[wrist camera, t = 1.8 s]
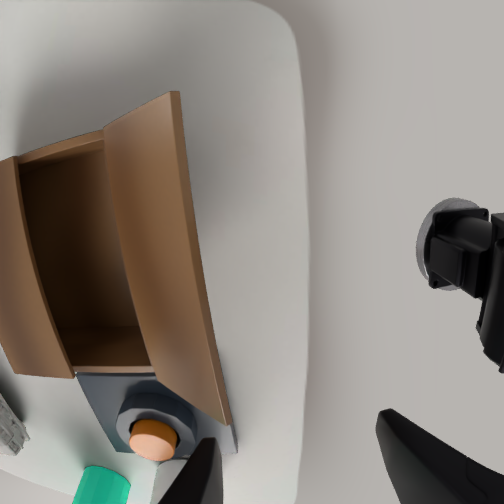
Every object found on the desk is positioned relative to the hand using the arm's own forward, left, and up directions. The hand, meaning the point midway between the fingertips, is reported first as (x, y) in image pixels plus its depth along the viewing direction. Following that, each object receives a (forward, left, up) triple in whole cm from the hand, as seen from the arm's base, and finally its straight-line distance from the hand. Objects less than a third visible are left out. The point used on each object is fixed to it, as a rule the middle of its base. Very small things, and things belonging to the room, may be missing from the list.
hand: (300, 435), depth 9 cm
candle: (+21, +24, -13) cm, 35 cm away
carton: (+12, -4, -13) cm, 18 cm away
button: (+10, +11, -10) cm, 18 cm away
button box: (+10, +11, -13) cm, 20 cm away
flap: (+5, -4, -5) cm, 8 cm away
